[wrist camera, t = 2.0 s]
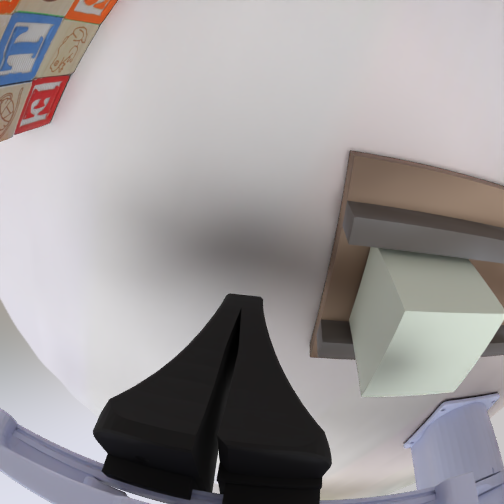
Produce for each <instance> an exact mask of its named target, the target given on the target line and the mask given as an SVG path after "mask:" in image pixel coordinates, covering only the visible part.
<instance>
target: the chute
mask: <svg viewBox="0 0 504 504" xmlns="http://www.w3.org/2000/svg"><path fill="white" fill-rule="evenodd" d="M371 247H376V248H385V249H393V250H402V251H410V252H418V253H426V254H435V255H442V256H450V257H458V258H466V259H469V261H470V262H471V263H472V264H473V266H474V267H475V268H476V270H477V271H478V272H479V274H480V275H481V276H482V278H483V279H484V281H485V282H486V283H487V285H488V286H489V287H490V289H491V290H492V292H493V293H494V295H495V296H496V298H497V299H498V300H499V302H500V303H501V305H502V306H503V308H504V186H501V185H498V184H495V183H491V182H488V181H485V180H481V179H478V178H474V177H471V176H467V175H464V174H460V173H456V172H452V171H448V170H444V169H440V168H436V167H432V166H428V165H423V164H419V163H414V162H410V161H405V160H400V159H395V158H390V157H384V156H379V155H373V154H368V153H362V152H356V151H350V155H349V162H348V168H347V174H346V181H345V187H344V192H343V198H342V204H341V209H340V215H339V220H338V225H337V230H336V236H335V240H334V245H333V250H332V255H331V260H330V264H329V269H328V273H327V278H326V282H325V287H324V291H323V295H322V299H321V303H320V307H319V312H318V316H317V320H316V323H315V327H314V331H313V335H312V339H311V343H310V357H314V358H331V359H354V360H356V358H355V352H354V346H353V340H352V334H351V329H350V323H349V318H350V315H351V312H352V309H353V306H354V303H355V299H356V296H357V293H358V290H359V287H360V283H361V280H362V276H363V273H364V270H365V266H366V263H367V259H368V255H369V252H370V248H371ZM497 355H504V320H503V322H502V324H501V325H500V327H499V329H498V330H497V332H496V334H495V335H494V337H493V338H492V340H491V341H490V343H489V344H488V346H487V348H486V349H485V350H484V352H483V353H482V355H481V356H480V357H486V356H497Z"/></svg>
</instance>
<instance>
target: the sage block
mask: <svg viewBox="0 0 504 504" xmlns="http://www.w3.org/2000/svg"><path fill="white" fill-rule="evenodd" d="M503 320H504V308H503V306H502V305H501V303H500V302H499V300H498V299H497V298H496V296H495V295H494V293H493V292H492V290H491V289H490V287H489V286H488V285H487V283H486V282H485V281H484V279H483V278H482V276H481V275H480V274H479V272H478V271H477V270H476V268H475V267H474V266H473V264H472V263H471V262H470V261H469V259H466V258H458V257H450V256H442V255H435V254H426V253H418V252H410V251H402V250H393V249H385V248H376V247H371V248H370V252H369V255H368V259H367V263H366V266H365V270H364V273H363V276H362V280H361V283H360V287H359V290H358V293H357V296H356V299H355V303H354V306H353V309H352V312H351V315H350V318H349V323H350V329H351V334H352V340H353V346H354V352H355V358H356V364H357V370H358V377H359V384H360V391H361V397H396V396H415V395H429V394H440V393H450V392H454V391H455V390H456V389H457V387H458V386H459V385H460V384H461V382H462V381H463V380H464V378H465V377H466V376H467V374H468V373H469V372H470V370H471V369H472V368H473V366H474V365H475V363H476V362H477V361H478V359H479V358H480V356H481V355H482V353H483V352H484V350H485V349H486V348H487V346H488V344H489V343H490V341H491V340H492V338H493V337H494V335H495V334H496V332H497V330H498V329H499V327H500V325H501V324H502V322H503Z"/></svg>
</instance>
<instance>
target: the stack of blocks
mask: <svg viewBox="0 0 504 504" xmlns="http://www.w3.org/2000/svg"><path fill="white" fill-rule="evenodd" d="M116 2H117V0H0V142H1V141H3V140H6V139H9V138H11V137H13V135H16V134H19V133H22V132H25V131H28V130H31V129H35V128H38V127H40V126H43V125H46V124H49V123H50V121H51V119H52V116H53V114H54V111H55V109H56V106H57V104H58V102H59V99H60V97H61V95H62V92H63V90H64V88H65V86H66V83H67V81H68V80H69V77H70V74H72V73H73V72H74V71H75V69H76V67H77V65H78V63H79V61H80V59H81V58H82V56H83V54H84V52H85V50H86V49H87V47H88V45H89V43H90V42H91V40H92V38H93V37H94V35H95V33H96V31H97V30H98V28H99V25H100V24H101V23H102V22H103V20H104V19H105V17H106V16H107V15H108V13H109V12H110V10H111V9H112V7H113V6H114V5H115V3H116Z"/></svg>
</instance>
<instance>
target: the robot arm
mask: <svg viewBox="0 0 504 504" xmlns="http://www.w3.org/2000/svg"><path fill="white" fill-rule="evenodd" d="M499 397H500V395H499V393H496V394H491V395H485V396H479V397H473V398H467V399H460V400H452V401H446V402H443V403H442V404H441V405H440V406H439V407H438V409H437V410H436V411H435V412H434V413H433V414H432V415H431V417H430V418H429V419H428V420H427V421H426V422H425V423H424V424H423V425H422V426H421V427H420V428H419V430H418V431H417V432H416V433H415V434H414V435H413V436H412V437H411V438H410V439H409V440H408V441H407V442H406V443H405V444H404V448H411V452H412V458H413V465H414V472H415V479H416V487H417V490H416V491H410V492H405V493H399V494H392V495H385V496H377V497H369V498H358V499H345V500H322V501H320V489H321V488H322V476H323V475H324V474H325V473H326V472H327V470H328V469H329V468H330V466H331V464H332V459H331V453H330V448H329V444H328V441H327V438H326V435H325V432H324V431H323V430H322V428H321V427H320V426H319V425H318V424H317V423H316V421H315V420H314V419H313V418H312V416H311V415H310V414H309V412H308V411H307V410H306V408H305V407H304V405H303V404H302V403H301V401H300V399H299V398H298V396H297V395H296V393H295V391H294V390H293V388H292V387H291V385H290V383H289V381H288V379H287V377H286V376H285V374H284V372H283V370H282V367H281V365H280V363H279V361H278V359H277V356H276V354H275V351H274V348H273V346H272V343H271V340H270V337H269V333H268V330H267V326H266V322H265V317H264V312H263V299H262V298H261V297H257V296H247V295H238V294H228V295H226V297H225V299H224V301H223V302H222V304H221V305H220V307H219V308H218V310H217V311H216V313H215V314H214V315H213V317H212V318H211V319H210V321H209V322H208V323H207V324H206V326H205V327H204V328H203V329H202V330H201V332H200V333H199V334H198V335H197V336H196V337H195V338H194V339H193V340H192V341H191V343H190V344H189V345H188V346H187V347H186V348H185V349H183V350H182V351H181V352H180V353H179V354H178V355H177V356H176V357H175V358H174V359H172V360H171V361H170V362H169V363H167V364H166V365H165V366H164V367H162V368H161V369H160V370H158V371H157V372H156V373H154V374H153V375H151V376H150V377H148V378H147V379H145V380H144V381H142V382H141V383H139V384H137V385H136V386H134V387H132V388H130V389H129V390H127V391H125V392H123V393H121V394H119V395H117V396H115V397H113V398H111V399H109V401H108V402H107V404H106V406H105V407H104V409H103V410H102V412H101V414H100V416H99V418H98V421H97V423H96V425H95V428H94V430H93V435H94V437H95V438H96V440H97V441H98V443H100V445H101V446H102V447H103V448H104V450H105V451H106V452H107V453H108V455H107V457H106V460H105V463H104V464H102V463H99V462H97V461H94V460H91V459H89V458H87V457H84V456H82V455H79V454H77V453H74V452H72V451H70V450H68V449H66V448H64V447H61V446H59V445H57V444H55V443H53V442H50V441H49V440H47V439H45V438H43V437H41V436H39V435H37V434H35V433H33V432H31V431H30V430H28V429H26V428H24V427H22V426H21V425H19V424H17V422H16V421H15V420H14V418H13V417H12V416H11V415H9V414H8V413H7V412H5V411H4V410H2V409H1V408H0V471H1V472H3V473H4V474H6V475H7V476H8V477H10V478H12V479H13V480H14V481H16V482H17V483H19V484H21V485H22V486H24V487H25V488H27V489H28V490H30V491H32V492H33V493H35V494H37V495H38V496H40V497H42V498H44V499H45V500H47V501H49V502H51V503H53V504H149V503H146V502H142V501H139V500H135V499H132V498H129V497H128V496H127V495H126V493H125V492H123V491H126V492H129V493H132V494H135V495H139V496H142V497H145V498H149V499H152V500H156V501H160V502H163V503H167V504H504V466H503V462H502V459H501V454H500V451H499V447H498V444H497V440H496V437H495V434H494V430H493V427H492V424H491V421H490V418H489V415H488V412H487V410H488V409H489V408H490V407H491V406H492V405H493V404H494V403H495V402H496V401H497V400H498V399H499ZM218 449H219V458H220V464H219V470H218V475H217V481H218V484H219V489H220V494H217V493H212V490H213V483H214V476H215V469H216V462H217V455H218ZM111 486H112V487H111ZM113 487H115V488H113ZM116 488H117V489H116ZM118 489H120V490H123V491H120V490H118Z"/></svg>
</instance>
